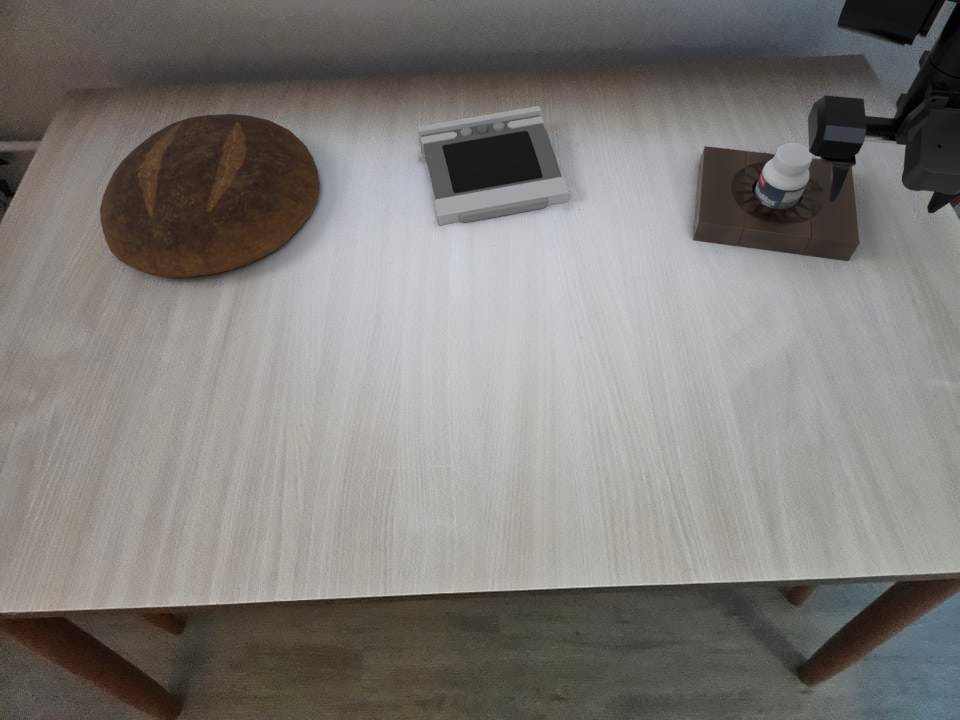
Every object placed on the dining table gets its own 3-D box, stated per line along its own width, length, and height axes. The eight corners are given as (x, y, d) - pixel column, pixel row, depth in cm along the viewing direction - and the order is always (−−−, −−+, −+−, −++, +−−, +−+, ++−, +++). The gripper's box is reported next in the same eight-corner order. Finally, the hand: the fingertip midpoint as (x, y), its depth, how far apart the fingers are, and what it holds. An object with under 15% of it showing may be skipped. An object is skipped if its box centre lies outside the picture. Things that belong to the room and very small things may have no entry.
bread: (82, 295, 79) (37, 246, 72) (136, 148, 94) (104, 95, 86) (311, 280, 79) (290, 230, 71) (330, 135, 93) (314, 81, 86)
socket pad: (841, 180, 83) (851, 162, 81) (848, 261, 76) (859, 243, 74) (699, 164, 86) (704, 146, 84) (692, 240, 79) (698, 222, 77)
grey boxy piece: (538, 105, 89) (571, 176, 79) (538, 135, 93) (569, 206, 83) (417, 126, 88) (435, 201, 78) (422, 155, 92) (439, 230, 82)
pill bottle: (739, 202, 82) (761, 145, 75) (775, 190, 83) (800, 133, 75) (763, 230, 79) (788, 174, 72) (800, 218, 80) (828, 161, 73)
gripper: (849, 111, 50) (782, 250, 63) (1127, 136, 46) (996, 277, 59) (842, 31, 55) (782, 173, 69) (1089, 48, 52) (977, 195, 65)
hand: (879, 204), depth 65 cm, fingers open, 9 cm apart
